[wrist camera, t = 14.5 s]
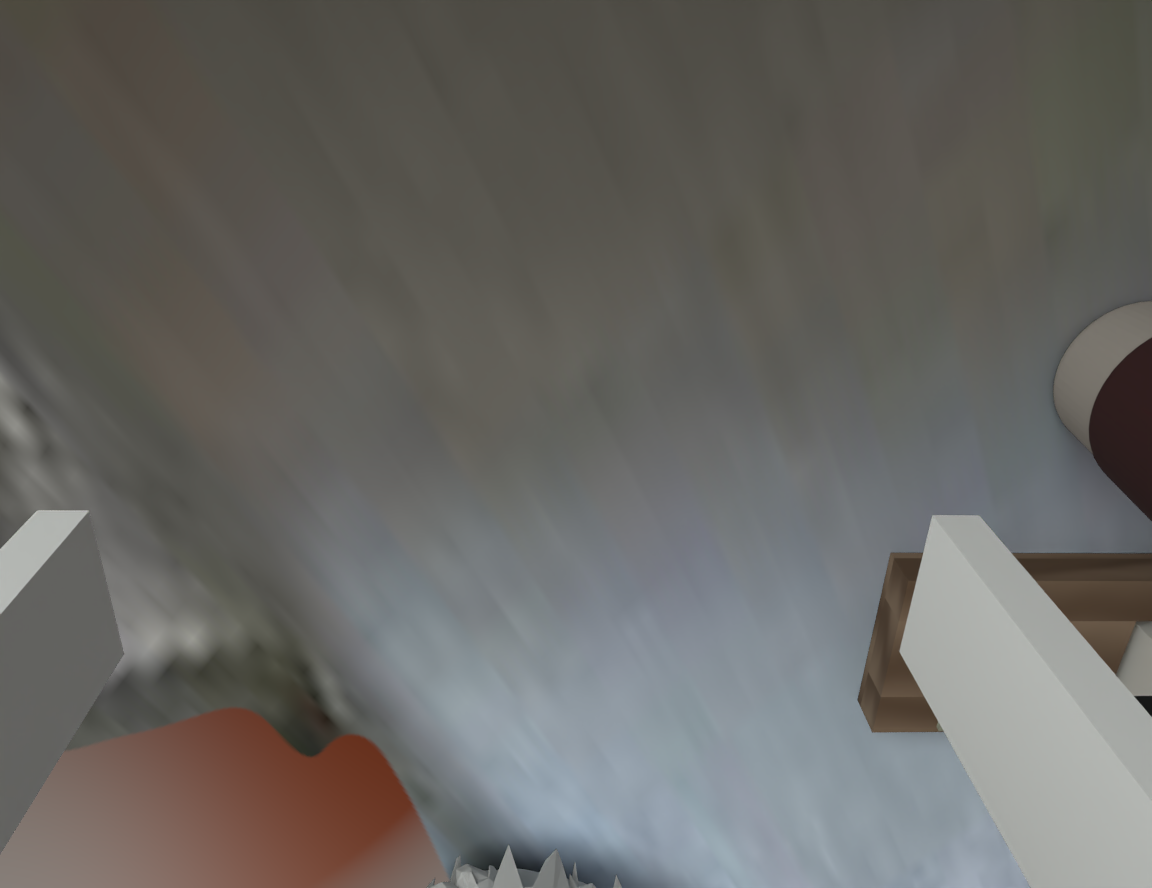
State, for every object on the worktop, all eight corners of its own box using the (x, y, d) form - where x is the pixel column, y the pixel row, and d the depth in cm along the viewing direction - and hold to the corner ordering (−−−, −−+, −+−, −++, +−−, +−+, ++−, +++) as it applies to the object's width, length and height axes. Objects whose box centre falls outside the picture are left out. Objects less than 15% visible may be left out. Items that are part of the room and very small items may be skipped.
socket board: (890, 552, 47) (910, 584, 44) (1258, 554, 48) (1298, 584, 45) (857, 700, 51) (874, 736, 49) (1195, 698, 52) (1228, 733, 50)
